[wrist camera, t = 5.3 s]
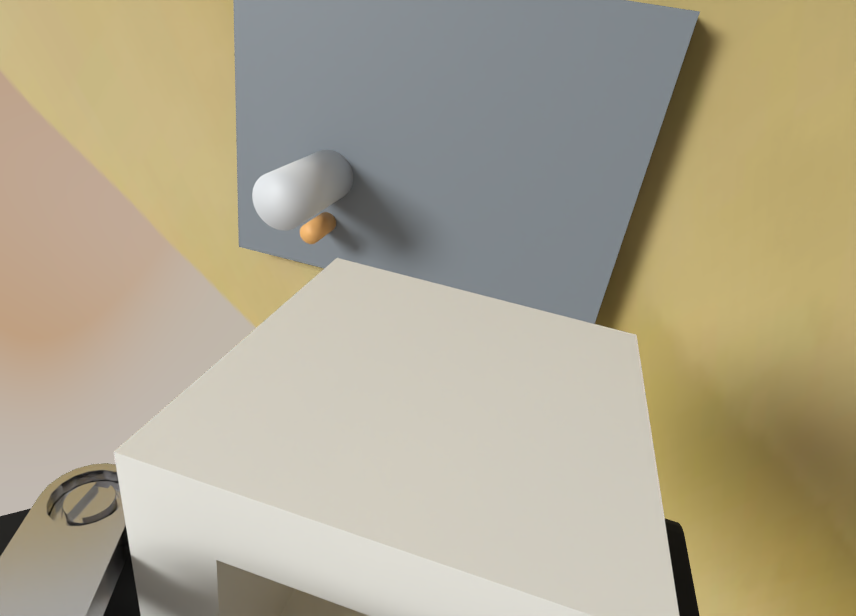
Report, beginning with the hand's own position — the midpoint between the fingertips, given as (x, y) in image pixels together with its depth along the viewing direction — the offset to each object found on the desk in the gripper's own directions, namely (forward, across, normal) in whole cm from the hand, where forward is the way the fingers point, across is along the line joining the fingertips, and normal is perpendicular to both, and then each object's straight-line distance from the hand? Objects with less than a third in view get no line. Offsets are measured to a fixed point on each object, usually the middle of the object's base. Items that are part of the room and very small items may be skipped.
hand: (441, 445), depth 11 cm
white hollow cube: (+1, 0, 0) cm, 1 cm away
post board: (+17, +5, -2) cm, 18 cm away
